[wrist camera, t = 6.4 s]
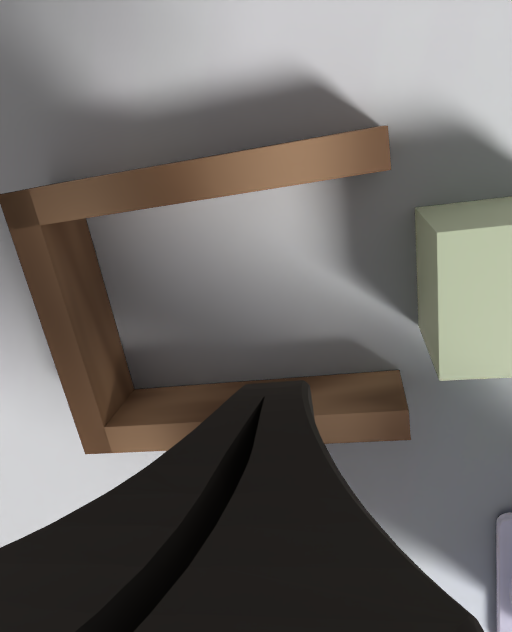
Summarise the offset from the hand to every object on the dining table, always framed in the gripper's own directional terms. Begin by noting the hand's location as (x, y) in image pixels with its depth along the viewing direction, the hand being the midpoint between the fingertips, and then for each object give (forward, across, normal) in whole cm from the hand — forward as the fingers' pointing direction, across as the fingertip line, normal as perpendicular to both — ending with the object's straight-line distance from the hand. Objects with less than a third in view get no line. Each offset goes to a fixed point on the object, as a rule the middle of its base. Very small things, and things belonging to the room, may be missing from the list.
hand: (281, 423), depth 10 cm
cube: (+10, -6, 0) cm, 11 cm away
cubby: (+9, +2, 0) cm, 10 cm away
